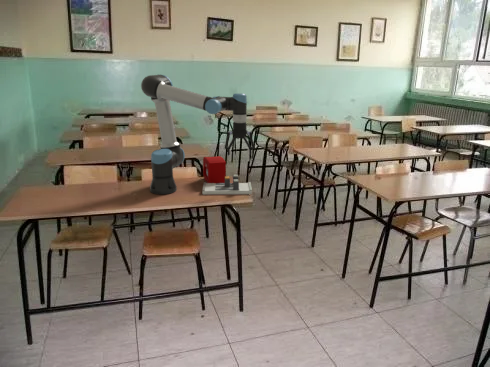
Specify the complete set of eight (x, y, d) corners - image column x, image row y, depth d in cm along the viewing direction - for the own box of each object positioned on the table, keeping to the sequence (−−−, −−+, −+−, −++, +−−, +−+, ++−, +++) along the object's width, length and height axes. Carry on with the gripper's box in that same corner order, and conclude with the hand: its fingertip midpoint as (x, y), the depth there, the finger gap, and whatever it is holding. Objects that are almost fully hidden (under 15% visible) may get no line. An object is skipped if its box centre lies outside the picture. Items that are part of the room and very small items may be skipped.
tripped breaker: (224, 186, 232) (224, 177, 230) (224, 184, 235) (224, 176, 233) (229, 186, 232) (229, 177, 231) (229, 184, 235) (229, 176, 233)
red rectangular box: (203, 178, 257) (202, 155, 253) (219, 177, 260) (219, 154, 256) (208, 185, 242) (208, 161, 238) (225, 184, 245) (225, 160, 241)
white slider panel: (202, 194, 227) (202, 181, 224) (203, 186, 241) (203, 174, 239) (251, 194, 228) (252, 181, 226) (250, 186, 242) (250, 173, 240)
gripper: (219, 122, 219) (219, 162, 225) (260, 123, 220) (259, 162, 227) (219, 120, 226) (219, 159, 233) (259, 120, 227) (258, 159, 234)
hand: (239, 160), depth 230 cm, fingers open, 10 cm apart
